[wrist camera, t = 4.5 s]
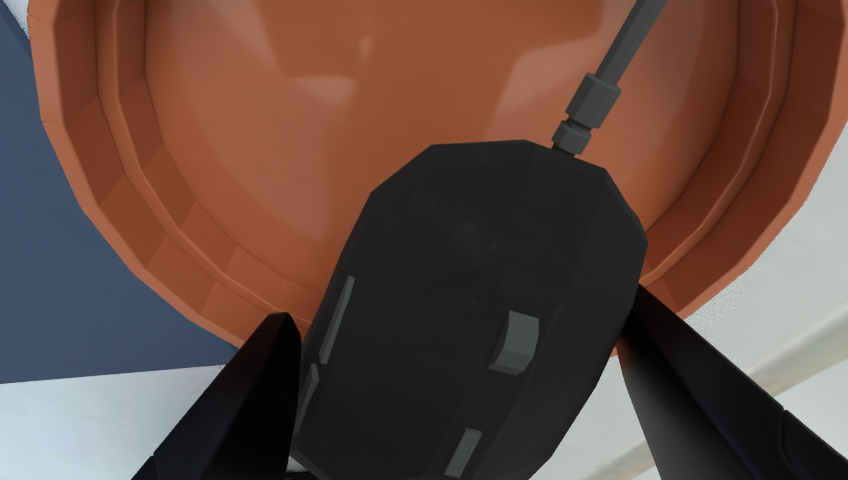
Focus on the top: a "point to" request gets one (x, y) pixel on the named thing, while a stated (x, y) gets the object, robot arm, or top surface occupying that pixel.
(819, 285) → the top surface
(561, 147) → the gaming mouse
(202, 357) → the mouse mat
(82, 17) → the terracotta plant saucer
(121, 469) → the top surface
